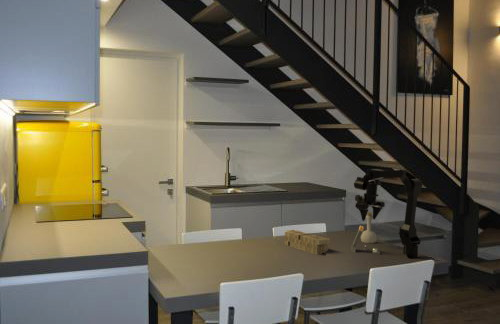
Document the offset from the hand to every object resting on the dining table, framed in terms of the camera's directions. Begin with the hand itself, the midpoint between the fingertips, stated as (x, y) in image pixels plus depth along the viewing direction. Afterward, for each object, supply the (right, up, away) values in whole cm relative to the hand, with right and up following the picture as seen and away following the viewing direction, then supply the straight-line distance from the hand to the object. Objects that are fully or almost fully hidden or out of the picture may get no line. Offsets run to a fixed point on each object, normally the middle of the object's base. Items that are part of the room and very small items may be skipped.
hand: (368, 220), depth 284 cm
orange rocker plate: (-12, -13, -15) cm, 23 cm away
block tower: (-35, -15, -8) cm, 39 cm away
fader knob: (-4, -14, -12) cm, 19 cm away
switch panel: (-6, -16, -16) cm, 23 cm away
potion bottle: (+2, -15, +9) cm, 17 cm away
